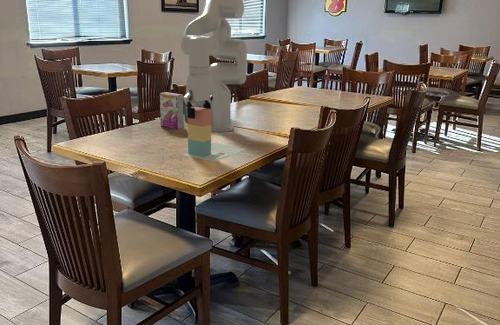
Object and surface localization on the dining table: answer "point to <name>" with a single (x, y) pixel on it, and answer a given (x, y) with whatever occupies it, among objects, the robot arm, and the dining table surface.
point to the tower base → (199, 148)
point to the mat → (218, 148)
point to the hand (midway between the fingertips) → (199, 116)
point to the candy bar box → (171, 110)
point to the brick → (201, 117)
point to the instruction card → (218, 155)
